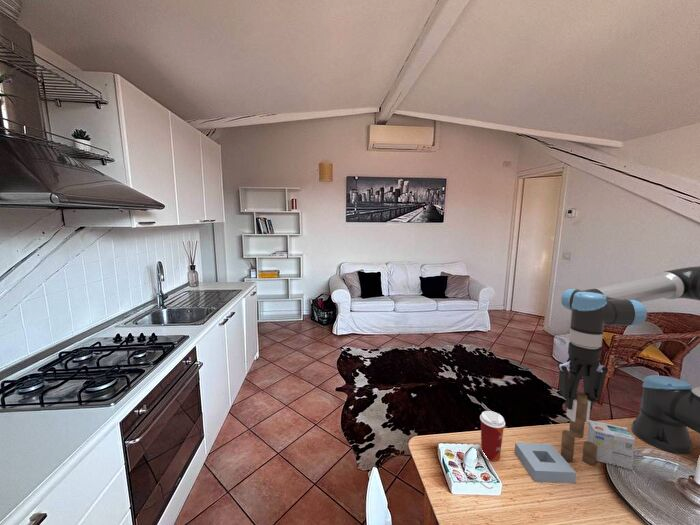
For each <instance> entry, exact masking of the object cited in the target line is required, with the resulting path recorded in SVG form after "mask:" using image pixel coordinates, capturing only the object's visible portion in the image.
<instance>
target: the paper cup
mask: <svg viewBox="0 0 700 525" xmlns="http://www.w3.org/2000/svg"><path fill="white" fill-rule="evenodd" d="M479 420H480V442H481V444H480V446H481V447H480V448H482V450H483V452H484V453H485V455H486V456H487V458H488V459H489V460H488V461H490V462H498V461H499V460H500V459H501V458H500V457H501V451H502V444H503V436H504V428H505V426H506V421H505V418H504V416H502V415H501V414H500V413H498V412H495V411H492V410H484V411H482V412H481V414H480V415H479Z"/></svg>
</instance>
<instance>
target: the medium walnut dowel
mask: <svg viewBox="0 0 700 525" xmlns="http://www.w3.org/2000/svg"><path fill="white" fill-rule="evenodd" d="M561 431H562V432H561V433H562V435H561V444H560V445H561V446H560V455H561V456H562V457H563V458H564V459H565V460H566V461H567V463H570V464H571V463H573V462H574V454H575V443H576V442H575V441H576V437H574V436H572V435H571V434H570V433H569V429H567V430H566V429H563V430H561Z"/></svg>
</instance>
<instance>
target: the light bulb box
mask: <svg viewBox="0 0 700 525" xmlns="http://www.w3.org/2000/svg"><path fill="white" fill-rule="evenodd" d="M586 434H587V435H586V441H588V442H591V443H594V444H595V445H596V446H597V457H596V462H601V463H604V464H607V465H611V464H613V465H612V466H615V465H617V466H616V467H619V466H621V467H620V468H622V467H624V468H623V469H626V468H627V470H631V471H632V470H633V465H634V455H635V446H636V444H635V442H636V438H635V437H634V436H633V434H632V433H631V432H630V430H629V429H628V427H625V426H621V425H615V424H610V423H605V422H602V421H596V420H592V419H589V422H587V433H586ZM608 463H609V464H608Z"/></svg>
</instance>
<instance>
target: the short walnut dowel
mask: <svg viewBox="0 0 700 525" xmlns="http://www.w3.org/2000/svg"><path fill="white" fill-rule="evenodd" d="M596 457H597V446H596V445H595V444H594V443H591V442H588V441H587V440H586V441H584V442H583V450H582V461H583V463H585V464H586V465H589V466H591V467H595V466H596V465H597V461H596Z"/></svg>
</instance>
